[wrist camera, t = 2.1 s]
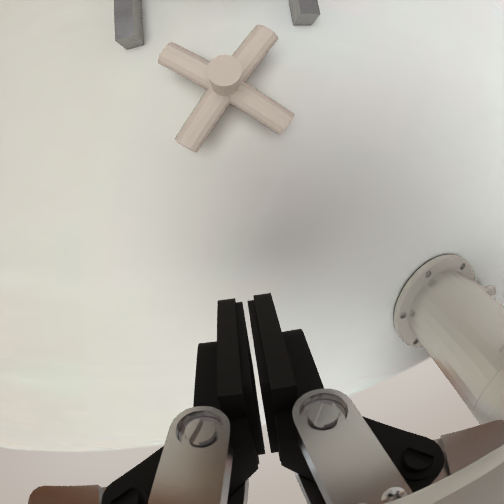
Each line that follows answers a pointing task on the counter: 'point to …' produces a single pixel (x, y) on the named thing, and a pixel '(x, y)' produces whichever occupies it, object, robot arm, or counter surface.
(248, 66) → the pipe connector
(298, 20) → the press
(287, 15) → the counter surface
